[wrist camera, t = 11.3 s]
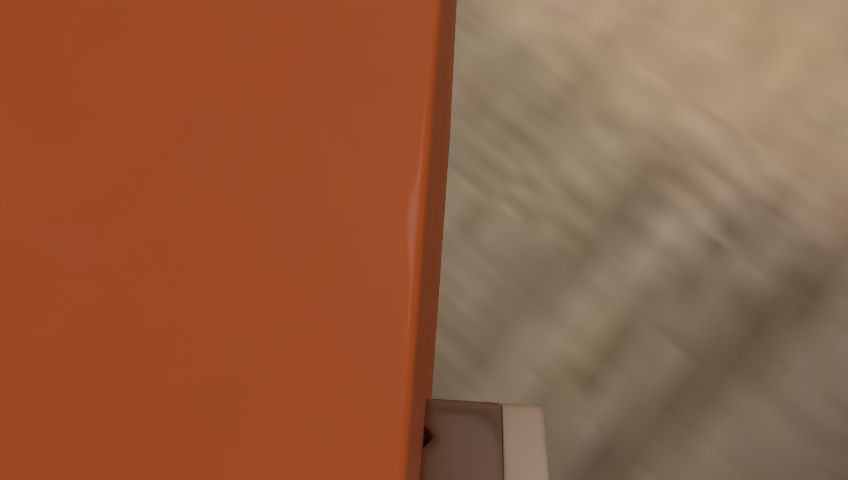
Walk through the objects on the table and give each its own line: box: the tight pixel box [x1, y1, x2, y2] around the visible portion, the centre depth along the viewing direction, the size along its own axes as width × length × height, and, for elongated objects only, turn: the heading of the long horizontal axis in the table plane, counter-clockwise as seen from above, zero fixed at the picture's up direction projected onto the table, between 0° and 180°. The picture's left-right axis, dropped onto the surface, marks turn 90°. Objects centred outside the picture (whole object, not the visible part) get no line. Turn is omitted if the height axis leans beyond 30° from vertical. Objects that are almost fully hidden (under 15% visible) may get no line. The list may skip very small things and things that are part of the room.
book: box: [0, 0, 457, 480], centre depth 12 cm, size 3×10×16 cm, turn 176°
